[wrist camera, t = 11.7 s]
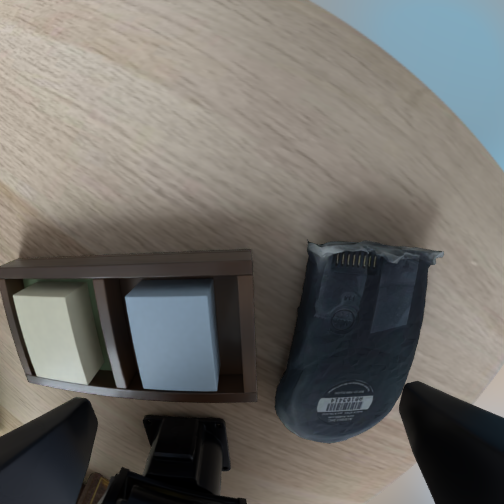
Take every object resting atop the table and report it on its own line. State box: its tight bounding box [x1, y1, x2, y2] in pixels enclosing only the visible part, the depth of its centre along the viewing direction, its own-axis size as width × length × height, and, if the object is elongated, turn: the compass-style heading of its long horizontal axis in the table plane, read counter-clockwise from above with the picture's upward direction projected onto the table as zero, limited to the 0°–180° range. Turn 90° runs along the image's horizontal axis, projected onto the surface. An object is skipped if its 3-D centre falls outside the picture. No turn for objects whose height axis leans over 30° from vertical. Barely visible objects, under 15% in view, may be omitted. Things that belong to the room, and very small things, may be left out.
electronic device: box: [275, 239, 444, 443], centre depth 19 cm, size 9×6×15 cm
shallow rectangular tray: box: [0, 249, 257, 403], centre depth 18 cm, size 9×17×3 cm, turn 92°
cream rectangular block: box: [13, 282, 104, 385], centre depth 17 cm, size 6×4×3 cm
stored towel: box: [125, 279, 220, 391], centre depth 18 cm, size 6×4×3 cm
